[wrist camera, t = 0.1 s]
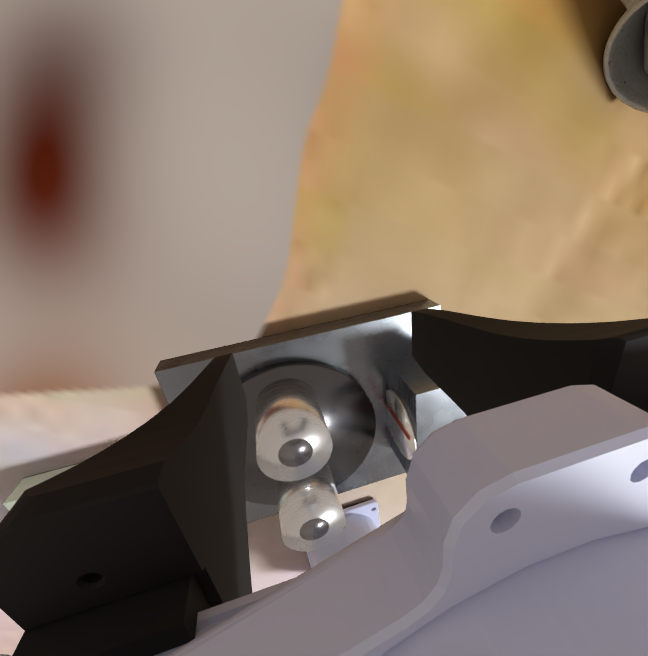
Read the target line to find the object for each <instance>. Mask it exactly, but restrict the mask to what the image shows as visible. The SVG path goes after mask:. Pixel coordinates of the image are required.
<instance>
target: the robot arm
mask: <svg viewBox="0 0 648 656" xmlns="http://www.w3.org/2000/svg"><path fill="white" fill-rule="evenodd" d="M411 326H412V356H413V357H414V359H415V360H416V362H417V363H418V364H419V366H420V367H421V368H422V370H423V371H424V372H425V374H426V375H427V376H428V377H429V378H430V379H431V380H432V381H433V382H434V383H435V384H436V385H437V386H438V387H439V388H440V389H441V390H442V391H443V392H444V393H445V394H446V395H447V396H448V397H449V398H450V399H451V400H452V401H453V402H454V403H455V404H456V405H457V406H458V407H459V408H460V409H461V410H462V411H463V412H464V413H465V414H466V415H467V416H466V417H463V418H460V419H456V420H454V421H453V422H451V423H449V424H447V425H445V426H443V427H441V428H439V429H437V430H435V431H433V432H432V433H431V434H430V435H429V436H428V437H427V439H426V440H425V441H424V442H423V443H422V444H421V445H420V446H419V448H418V449H417V450H416V451H415V452H414V454H413V456H412V460H411V463H410V467H409V470H408V474H407V477H406V493H407V504H406V510H405V512H403V513H401V514H399V515H398V516H396V517H394V518H393V519H391V520H389V521H388V522H386V523H385V524H383V525H381V526H380V521H379V511H378V503H377V501H376V500H374V499H372V500H369V501H366V502H363V503H360V504H357V505H354V506H351V507H348V508H345V509H343V511H344V515H345V518H346V524H345V528H344V530H343V531H342V533H341V534H340V536H339V537H338V538H337V539H335V540H334V541H333V542H331V543H330V544H328V545H327V546H324V547H322V548H320V549H317V550H312V551H306V552H307V555H308V559H309V563H310V566H311V568H310V569H309V570H307V571H305V572H304V573H302V574H301V575H299V576H297V577H296V578H293V579H290V580H288V581H285V582H282V583H279V584H276V585H274V586H271V587H268V588H265V589H262V590H259V591H257V592H254V593H252V586H251V573H250V561H249V548H248V533H247V518H246V499H245V463H246V446H247V428H248V414H247V403H246V396H245V393H244V389H243V386H242V383H241V379H240V376H239V373H238V370H237V366H236V363H235V360H234V356H233V353H230V354H225V355H221V356H216V357H215V358H214V359H213V360H212V361H211V362H210V363H209V364H208V365H207V366H206V367H205V368H204V370H203V371H202V372H201V373H200V374H199V375H198V376H197V377H196V378H195V379H194V380H193V382H192V383H191V384H190V385H189V386H188V387H187V388H186V389H185V390H184V391H183V392H182V393H180V394H179V395H178V396H177V397H176V398H175V399H174V400H173V401H172V402H171V403H170V404H169V405H168V406H166V407H165V408H164V409H163V410H162V411H160V412H159V413H158V414H157V415H155V416H154V417H153V418H151V419H150V420H149V421H147V422H146V423H145V424H143V425H142V426H140V427H139V428H137V429H136V430H134V431H133V432H131V433H130V434H128V435H127V436H126V437H124V438H123V439H121V440H119V441H118V442H116V443H115V444H113V445H111V446H110V447H108V448H106V449H105V450H103V451H101V452H99V453H98V454H96V455H94V456H92V457H91V458H89V459H87V460H85V461H83V462H81V463H80V464H78V465H76V466H74V467H72V468H70V469H68V470H66V471H64V472H62V473H60V474H58V475H56V476H54V477H52V478H50V479H48V480H45V481H43V482H41V483H39V484H37V485H35V486H33V487H31V488H29V489H27V490H25V491H24V492H23V494H22V495H21V496H20V498H19V499H18V500H17V501H16V503H15V504H14V505H13V507H12V508H11V509H10V511H9V512H8V513H7V515H6V516H5V517H4V519H3V520H2V521H1V523H0V608H1V609H2V610H3V611H4V612H5V613H6V614H7V615H8V616H9V617H10V618H11V619H13V620H14V621H15V622H16V623H17V624H18V625H19V626H20V627H21V628H22V629H24V630H25V632H24V634H23V636H22V638H21V640H20V642H19V644H18V646H17V648H16V650H15V652H14V654H13V655H12V656H648V318H647V319H637V320H627V321H616V322H598V323H533V322H519V321H508V320H500V319H493V318H486V317H480V316H474V315H468V314H462V313H457V312H451V311H445V310H439V309H427V308H425V309H420V310H416V311H412V312H411ZM0 656H10V655H3V654H0Z"/></svg>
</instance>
